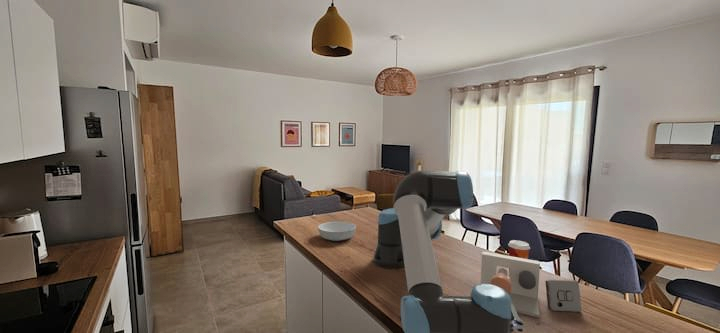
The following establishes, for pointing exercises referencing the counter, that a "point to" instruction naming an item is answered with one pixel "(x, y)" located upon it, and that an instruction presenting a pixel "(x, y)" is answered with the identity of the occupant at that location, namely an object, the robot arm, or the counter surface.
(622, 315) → the counter surface
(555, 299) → the electrical switch
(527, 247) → the paper cup
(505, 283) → the knob
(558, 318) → the counter surface
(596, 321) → the counter surface
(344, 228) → the serving bowl
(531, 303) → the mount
